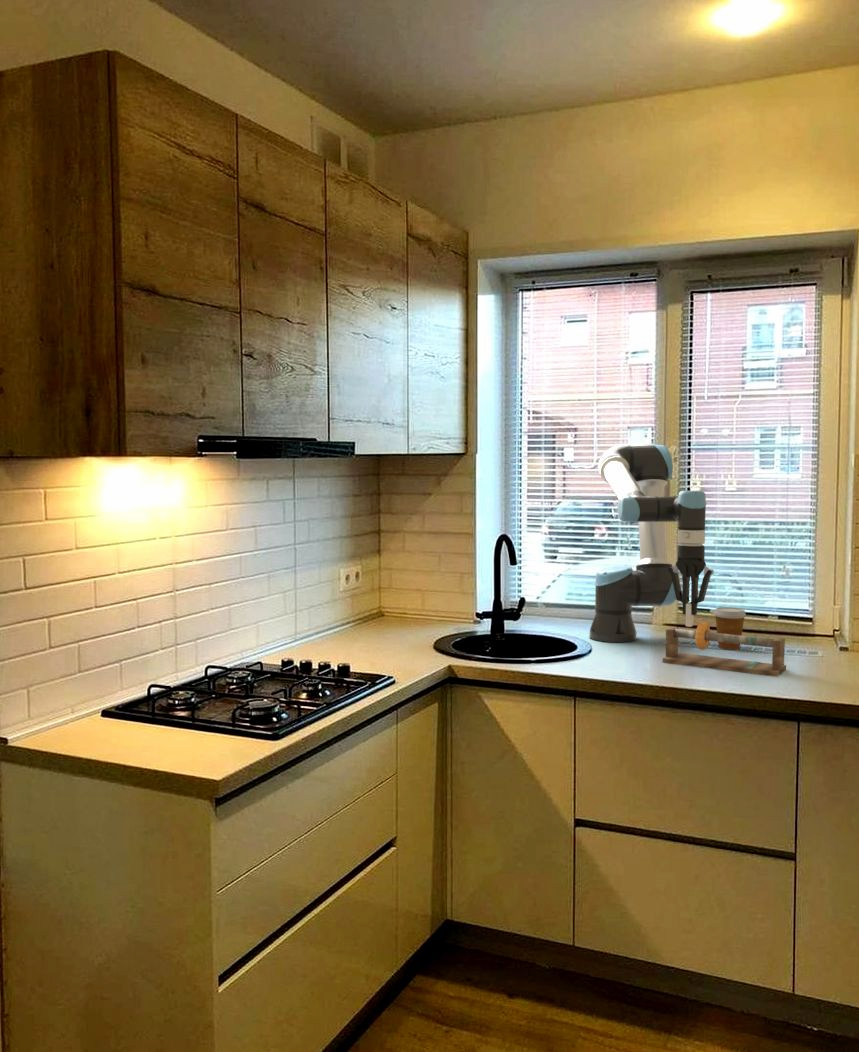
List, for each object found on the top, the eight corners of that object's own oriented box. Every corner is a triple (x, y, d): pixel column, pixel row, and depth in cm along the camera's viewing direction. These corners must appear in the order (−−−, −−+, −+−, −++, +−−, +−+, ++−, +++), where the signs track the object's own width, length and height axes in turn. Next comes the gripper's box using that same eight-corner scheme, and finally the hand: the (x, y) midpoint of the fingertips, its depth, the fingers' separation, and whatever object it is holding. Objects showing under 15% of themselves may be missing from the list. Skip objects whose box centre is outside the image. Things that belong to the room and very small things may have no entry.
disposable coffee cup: (710, 648, 290) (711, 610, 290) (716, 643, 299) (717, 606, 298) (742, 651, 286) (743, 612, 285) (747, 646, 294) (748, 608, 294)
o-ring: (693, 651, 267) (694, 623, 267) (702, 646, 274) (702, 619, 273) (702, 652, 266) (703, 624, 265) (711, 647, 272) (711, 620, 272)
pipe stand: (662, 662, 271) (663, 630, 271) (674, 656, 280) (674, 625, 279) (777, 676, 254) (778, 642, 253) (786, 669, 262) (787, 636, 261)
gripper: (664, 544, 270) (663, 625, 272) (709, 546, 263) (707, 630, 265) (673, 542, 276) (672, 621, 278) (717, 544, 269) (716, 626, 271)
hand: (689, 625), depth 271 cm, fingers closed
